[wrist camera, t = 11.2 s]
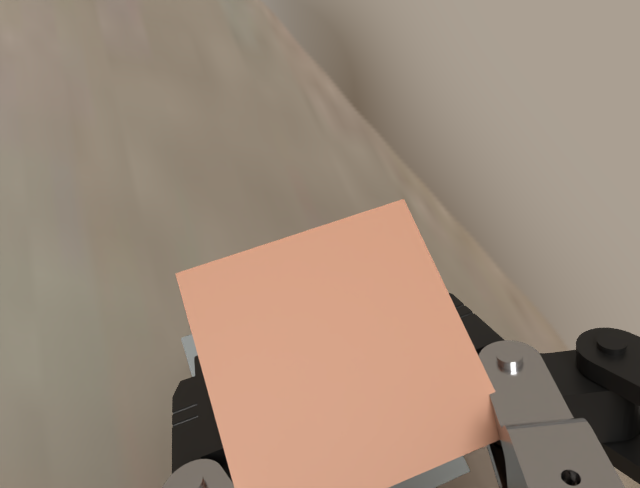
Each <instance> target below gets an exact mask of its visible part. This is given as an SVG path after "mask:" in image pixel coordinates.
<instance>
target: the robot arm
mask: <svg viewBox="0 0 640 488" xmlns="http://www.w3.org/2000/svg"><path fill="white" fill-rule="evenodd" d="M449 295H450V297H451V299H452V301H453V304H454V306H455V308H456V310H457V312H458V314H459V316H460V318H461V320H462V322H463V324H464V327H465V329H466V331H467V333H468V335H469V337H470V339H471V341H472V343H473V345H474V348H475V350H476V352H477V354H478V356H479V358H480V360H481V362H482V364H483V366H484V369H485V371H486V373H487V375H488V377H489V379H490V381H491V383H492V385H493V387H494V390H495V392H494V393H491V394H489V395H490V400H491V404H492V409H493V413H494V418H495V422H496V427H497V432H498V435H499V438H500V440H498V441H496V442H493V443H491V444H489V445H487V448H488V451H489V455H490V458H491V461H492V465H493V468H494V472H495V475H496V478H497V482H498V485H499V488H625V487H624V485H623V483H622V481H621V480H620V478H619V476H618V474H617V472H616V471H615V469H614V467H615V468H617V469H618V470H620V471H621V472H623V473H624V474H626V475H627V476H629V477H630V478H632V479H633V480H634V481H636V482H637V483H639V484H640V337H638V336H636V335H634V334H631V333H629V332H626V331H623V330H619V329H614V328H595V329H591V330H588V331H586V332H584V333H582V334H581V335H580V336H579V337H578V339H577V341H576V350H571V351H563V352H555V353H545V354H542V353H539V352H538V351H537V350H536V349H534V348H533V347H531V346H529V345H527V344H525V343H522V342H518V341H509V340H506V341H505V340H504V339H503V338H501V337H500V336H499V335H498V334H497V333H496V332H495V331H493V330H492V329H491V328H490V327H489V326H488V325H487V324H486V323H484V322H483V321H482V320H481V319H480V318H479V317H478V316H477V315H475V314H473V313H472V311H471V310H470V309H469V308H468V307H466V306H464V304H463V303H462V302H461V301H460V300H459V299H457V298H456V297H455V296H454V295H453V294H451V293H449ZM194 363H195V376H194V377H191V378H188V379H186V380H183V381H180V383H179V385H178V387H177V389H176V391H175V393H174V395H173V407H172V412H173V415H172V425H173V428H172V475H171V476H170V477H169V478H168V479H167V481H166V482H165V484H164V485H163V487H162V488H234V485H233V481H232V478H231V474H230V470H229V467H228V463H227V459H226V456H225V452H224V448H223V445H222V441H221V438H220V434H219V430H218V427H217V423H216V419H215V416H214V412H213V408H212V405H211V401H210V398H209V394H208V390H207V387H206V383H205V379H204V376H203V372H202V368H201V365H200V361H199V357H198V355H197V356H195V357H194ZM613 466H614V467H613Z"/></svg>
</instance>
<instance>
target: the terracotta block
mask: <svg viewBox="0 0 640 488" xmlns="http://www.w3.org/2000/svg"><path fill="white" fill-rule="evenodd" d="M175 274H176V277H177V281H178V285H179V288H180V292H181V296H182V299H183V303H184V307H185V310H186V314H187V317H188V321H189V325H190V328H191V332H192V336H193V339H194V343H195V347H196V350H197V354H198V357H199V361H200V365H201V368H202V372H203V376H204V379H205V383H206V387H207V390H208V394H209V398H210V401H211V405H212V408H213V412H214V416H215V419H216V423H217V427H218V430H219V434H220V438H221V441H222V445H223V448H224V452H225V456H226V459H227V463H228V467H229V470H230V474H231V478H232V481H233V485H234V488H389V487H391V486H393V485H396V484H398V483H400V482H403V481H405V480H407V479H410V478H412V477H414V476H417V475H419V474H421V473H424V472H426V471H428V470H431V469H433V468H435V467H438V466H440V465H442V464H445V463H447V462H449V461H452V460H454V459H456V458H459V457H461V456H463V455H466V454H468V453H470V452H472V451H475V450H477V449H479V448H482V447H484V446H486V445H489V444H491V443H493V442H496V441H498V440H500V438H499V435H498V432H497V427H496V422H495V418H494V413H493V409H492V404H491V400H490V395H489V394H491V393H494V392H495V390H494V387H493V385H492V383H491V381H490V379H489V377H488V375H487V373H486V371H485V369H484V366H483V364H482V362H481V360H480V358H479V356H478V354H477V352H476V350H475V348H474V345H473V343H472V341H471V339H470V337H469V335H468V333H467V331H466V329H465V327H464V324H463V322H462V320H461V318H460V316H459V314H458V312H457V310H456V308H455V306H454V304H453V301H452V299H451V297H450V295H449V293H448V291H447V289H446V287H445V285H444V283H443V280H442V278H441V276H440V274H439V272H438V270H437V268H436V266H435V264H434V262H433V259H432V257H431V255H430V253H429V251H428V249H427V247H426V245H425V243H424V241H423V238H422V236H421V234H420V232H419V230H418V228H417V226H416V224H415V222H414V220H413V217H412V215H411V213H410V211H409V209H408V207H407V205H406V203H405V201H404V199H402V200H399V201H396V202H393V203H390V204H387V205H384V206H381V207H378V208H375V209H372V210H369V211H365V212H362V213H359V214H356V215H353V216H350V217H347V218H344V219H341V220H338V221H335V222H332V223H329V224H326V225H323V226H319V227H316V228H313V229H310V230H307V231H304V232H301V233H298V234H295V235H292V236H289V237H286V238H283V239H280V240H277V241H274V242H270V243H267V244H264V245H261V246H258V247H255V248H252V249H249V250H246V251H243V252H240V253H237V254H234V255H231V256H228V257H225V258H221V259H218V260H215V261H212V262H209V263H206V264H203V265H200V266H197V267H194V268H191V269H188V270H185V271H182V272H179V273H175Z"/></svg>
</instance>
